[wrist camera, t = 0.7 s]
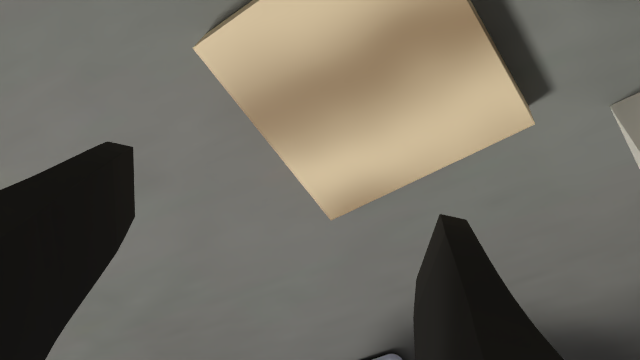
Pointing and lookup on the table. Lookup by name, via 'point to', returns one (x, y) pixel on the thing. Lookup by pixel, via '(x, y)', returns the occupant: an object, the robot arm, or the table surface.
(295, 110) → the oak block
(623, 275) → the table surface
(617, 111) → the carton block
